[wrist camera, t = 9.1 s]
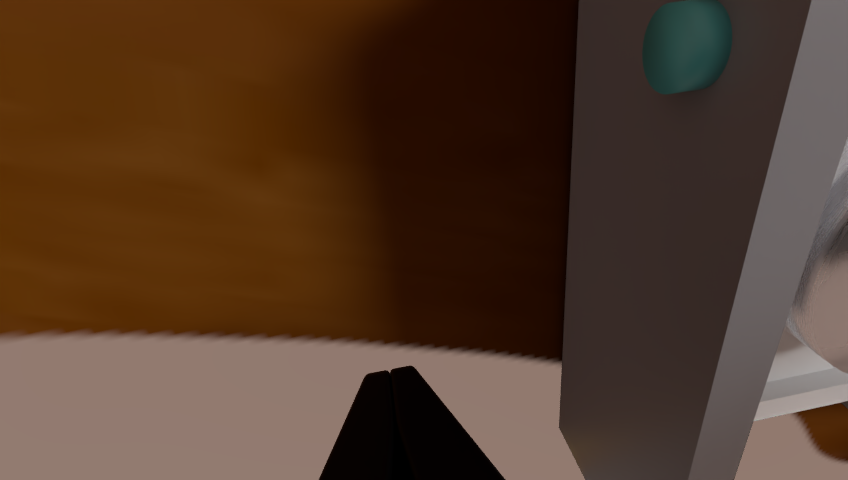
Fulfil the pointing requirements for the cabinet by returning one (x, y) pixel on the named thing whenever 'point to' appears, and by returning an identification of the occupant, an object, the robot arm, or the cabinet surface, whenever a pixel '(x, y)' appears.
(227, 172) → the cabinet surface
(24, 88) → the cabinet surface
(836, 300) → the disc
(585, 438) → the tray
